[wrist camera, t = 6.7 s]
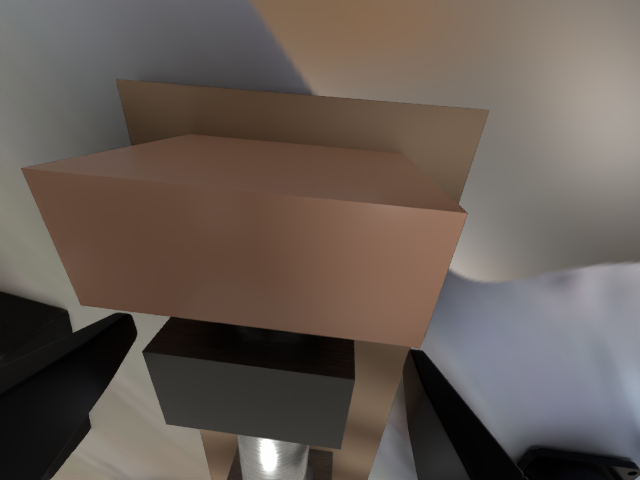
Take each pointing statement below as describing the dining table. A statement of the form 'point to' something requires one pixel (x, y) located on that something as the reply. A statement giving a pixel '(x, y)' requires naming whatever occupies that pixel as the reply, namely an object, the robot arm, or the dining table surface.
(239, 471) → the sleeve
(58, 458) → the coral
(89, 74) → the dining table surface
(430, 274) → the reddish brown block
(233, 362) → the steel tube
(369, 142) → the walnut board
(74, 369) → the robot arm
